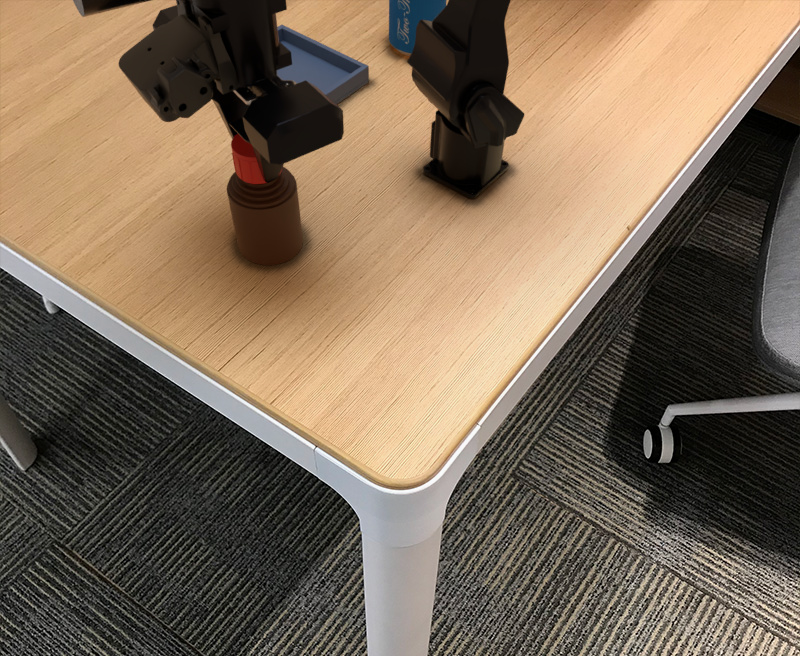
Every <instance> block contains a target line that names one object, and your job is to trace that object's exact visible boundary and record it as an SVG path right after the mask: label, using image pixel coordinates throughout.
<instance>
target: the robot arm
mask: <svg viewBox="0 0 800 656" xmlns="http://www.w3.org/2000/svg"><path fill="white" fill-rule="evenodd" d="M151 1H152V0H72V2H73V4H74V6H75V7H76V10H77V11H78V13H79V15H80V16H81V17H82V18H85V17H89V16H93V15H98V14H102V13H105V12H110V11H115V10H118V9H123V8H126V7H132V6H135V5H139V4H143V3H147V2H151ZM175 2H176V4H175V5H172V6H170V7H166V8H163V9H160V10H159V12H158V14H157V16H156V17H155V19H154V21H153V22H152V29H153V30H152V31H151V32H150V33H148V34H147V35H145V37H143V38H142V39H141V40H139V41H138V42H136V44H134V45H133V46H132V47H130V48H129V49H128V50H127V51H125V52H124V53H123V54H122V55H121V56H120V58H119V59H118V67H119V69H120V71H121V72H122V73H123V74H124V75H125V77H126V78H127V80H128V81H129V82H130V84H131V85H132V86H133V88H134V89H135V90H136V91H137V93H138V94H139V96H140V97H141V98H142V99H143V101H144V102H145V103H146V104H147V105H148V106H149V107H150V108H151V110H152V111H153V112H154V113H155V114H156V115H157V117H158V118H159V119H160V120H161V121H162V122H165V123H171V122H176V121H177V120H178V119H180V118H181V119H190V118H191V117H192V116H193V115H195V114H196V113H197V112H198V111H200V110H201V109H202V108H203V107H205V106H206V105H207V104H209V103H210V102H211V101H212V102H213V104H214V106H215V108H216V110H217V112H218V113H219V116H220V118H221V119H222V121H223V123H224V126H225V128H226V130H227V131H228V134H229V136H230V138H231V140H232V139H233V137H234V136H235V135H236V134H239V135H240V136H241V137H242V138H243V139H244V140H245V141H246V142H247V143H249V144H252V147H253V150H254V153H255V156H256V160H257V163H258V166H259V169H260V171H261V174H262V177H263V179H264V181H265V182H266V183H269V182H271V181H274V180H276V179H277V178H278V176H279V174H280V172H281V169H282V167H284V165H285V164H286V163H289V162H292V161H294V160H296V159H299V158H301V157H304V156H306V155H308V154H311V153H313V152H315V151H318V150H320V149H323V148H324V147H327V146H329V145H332V144H335V143H336V142H339V141H342V140H343V138H344V134H345V131H344V130H345V128H344V126H345V125H344V110H343V109H342V108H341V107H340V106H338V104H337V105H336V104H335V103H334V102H333V101H332V100H331V99H329V98H328V97H327V96H326V95H325V94H324V93H323V92H322V91H321V90H319V89H318V88H317V87H316V86H314V85H312V84H311V83H309V82H308V81H306V80H305V81H303V82H300V83H296V82H295V81H292V80H282V79H281V78H280V77H279V76H278V75H277V70H279V69H282V68H285V67H287V66H290V65H292V57H291V51H289V50H288V49H287V48H286V47H285V46H284V45H283V44H282V43H280V42H279V37H278V28H277V27H278V20H277V14H278V13H282V12H285V11H287V10H288V8H287V0H175ZM510 4H511V0H448V2H447V3H446V6H445V7H444V9H443V10H442V11H441V12H440V13H439V14H438V15H437V16H436V17H435V18H434V19H433V21H427V20H420V21H419V23H418V25H417V27H416V38H415V45H414V48H413V51H412V54H411V55H410V56H408V57H409V58H408V59H407V61H406V62H407V64H408V65H409V66H410V67H411V78H412V82H413V83H414V85H415V86H416V88H417V89H418V90H419V92H420V93H421V94H422V95H423V96H424V97H425V98H426V99H427V100H428V102H429V103H431V104H432V105H433V106H434V107H435V108H436V109H437V110H436V112H435V118H434V120H433V121H432V122H431V125H430V126H431V127H430V128H431V129H430V141H429V142H430V143H429V158H430V159H431V160H430V161H429V162H427V163H426V164H425V165H424V166H423V167H422V173H423V174H424V175H425V176H427V177H429V178H430V179H432V180H435V181H436V182H439V183H440V184H442V185H444V186H446V187H448V188H449V189H452V190H454V191H456V192H458V193H460V194H461V195H463V196H465V197H467V198H469V199H476V198H477V197H478V196H479V195H481V194H482V193H483V192H484V191H485V190H486V189H487V188H489V186H491V185H492V184H493V183H494V182H495V181H496V180H497V179H499V178H500V177H501V176H502V175H504V173H505V172H506V171H508V170H509V167H510V163H509V162H508V161H507V160H504V159H503V156H504V155H503V154H504V148H505V141H506V140H507V138H510V137H512V136H515V135H517V133H518V131H519V129H520V127H521V124H522V122H523V120H524V118H525V112H524V111H523V110H521V109H520V108H519V107H518V106H517V105H516V104H515V103H514V102H513V101H512V100H510V98H509V97H508V96H506V94H504V93H505V89H506V83H507V78H508V73H509V65H510V58H509V50H508V42H507V33H506V23H505V22H506V18H507V14H508V10H509V7H510Z"/></svg>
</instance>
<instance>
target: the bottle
mask: <svg viewBox="0 0 800 656" xmlns="http://www.w3.org/2000/svg"><path fill="white" fill-rule="evenodd" d="M226 195H227V199H228V203H229V209H230V213H231V218H232V224H233V228H234V232H235V238H236V242H237V247H238V250H239V253H240V254H241V255H242V256H243V258H245V259H246V260H247V261H249V262H250V263H251V262H252V263H253V264H257V265H261V266H275V265H279V264H283V263H286V262H288V261H290V260H291V259H293V258H294V257H296V256H298V253H300V252H301V249H302V247H303V244H304V238H303V237H304V236H303V229H302V220H301V219H302V218H301V209H300V201H299V192H298V184H297V179H296V178H295V176H294V175H293V173H292V172H291V171H290V170H289V169H288V168H286V167H285V166H283V167H282V171H281V173H280V175H279V176H278V178H277V179H276V180H274V181H271V182H269V183H265V184H251V183H247V182H245V181H243V180H241V179H240V178H239V177H238V176H237V174H236V173H235V171H234V172H233V173H232V175H231V176H230V177H229V180H228V181H227V184H226Z"/></svg>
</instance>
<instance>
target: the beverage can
mask: <svg viewBox="0 0 800 656" xmlns="http://www.w3.org/2000/svg"><path fill="white" fill-rule="evenodd" d="M446 5H447V0H388V42H389V43H390V45H391V46H392V47H393V48H394V49H396V50H397V52H399V53H400V54H402V55H405V56H407V57H410V55H411V54H412V51H413V48H414V45H415V38H416V27H417V25H418V23H419V21H420V20H427V21H433V19H434V18H435V17H436V16H437V15H438V14H439V13H440V12H441V11H442V10H443V9H444V7H445V6H446Z"/></svg>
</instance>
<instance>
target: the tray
mask: <svg viewBox="0 0 800 656" xmlns="http://www.w3.org/2000/svg"><path fill="white" fill-rule="evenodd" d="M277 28H278V37H279V42H280V43H282V44H283V45H284V46H285V47H286V48H287V49H288V50H289V51H291V57H292V65H290V66H287V67H285V68H282V69H279V70H277V75H278V76H279V77H280V78H281V79H282V80H292V81H295V82H296V83H300V82H303V81H305V80H306V81H308V82H309V83H311V84H312V85H314V86H316V87H317V88H318V89H319V90H321V91H322V92H323V93H324V94H325V95H326V96H327V97H328V98H329V99H331V100H332V101H333V102H334V103H335V104H336V105H337V106H338V105H339V104H340V103H341V102H343V101H344V100H345V99H347V98H349V97H350V96H351V95H353V94H354V93H356V92H358V91H359V90H360V89H361V88H362V87H364V86H366V85H367V84H369V82H370V68H369V65H367V64H366V63H363V62H362V61H359V60H358V59H355V58H352V57H351V56H349V55H347V54H345V53H343V52H340V51H338V50H336V49H334V48H332V47H330V46H328V45H326V44H324V43H322V42H320V41H318V40H316V39H314V38H311V37H309V36H307V35H305V34H303V33H301V32H299V31H297V30H294V29H292V28H290V27H288V26H286V25H284V24H280V25H277Z"/></svg>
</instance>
